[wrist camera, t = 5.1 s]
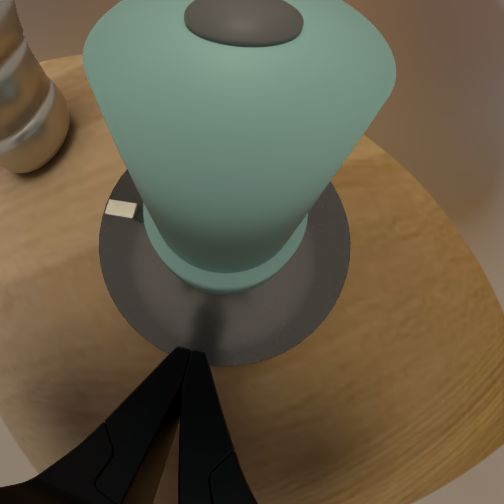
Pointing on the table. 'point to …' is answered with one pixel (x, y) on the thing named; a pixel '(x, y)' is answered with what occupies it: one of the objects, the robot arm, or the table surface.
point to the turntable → (215, 305)
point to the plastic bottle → (26, 101)
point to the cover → (234, 121)
